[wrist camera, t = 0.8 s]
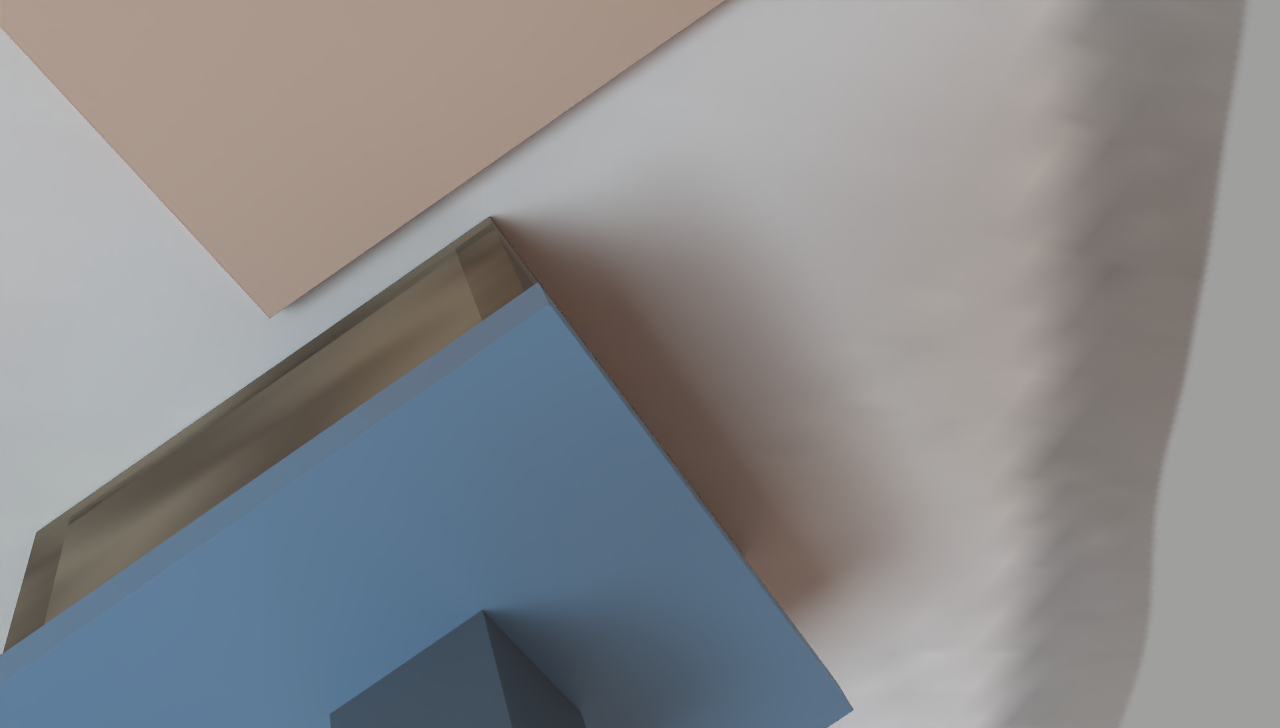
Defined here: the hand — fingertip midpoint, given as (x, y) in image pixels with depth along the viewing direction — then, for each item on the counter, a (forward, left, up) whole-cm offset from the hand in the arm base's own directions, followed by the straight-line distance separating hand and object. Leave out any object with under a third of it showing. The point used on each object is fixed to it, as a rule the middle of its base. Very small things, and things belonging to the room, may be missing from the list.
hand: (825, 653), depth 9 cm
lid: (-6, -6, -11) cm, 14 cm away
